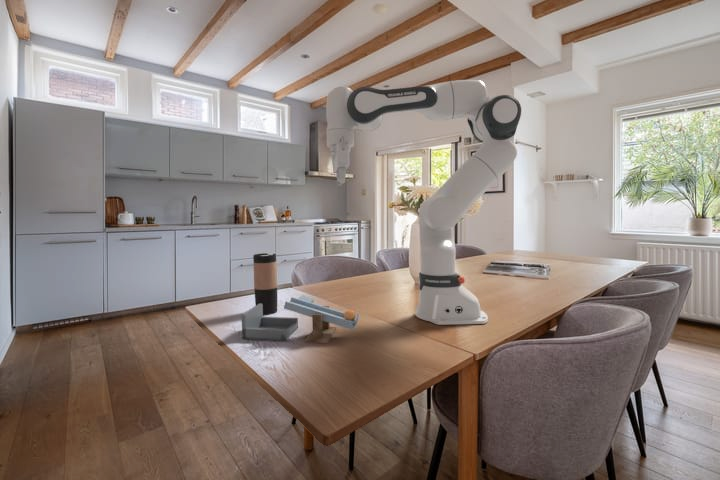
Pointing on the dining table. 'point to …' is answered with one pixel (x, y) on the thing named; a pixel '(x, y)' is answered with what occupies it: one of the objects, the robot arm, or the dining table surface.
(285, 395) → the dining table surface
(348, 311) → the ball
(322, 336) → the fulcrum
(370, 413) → the dining table surface
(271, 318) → the tray
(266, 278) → the travel mug
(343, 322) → the lever
